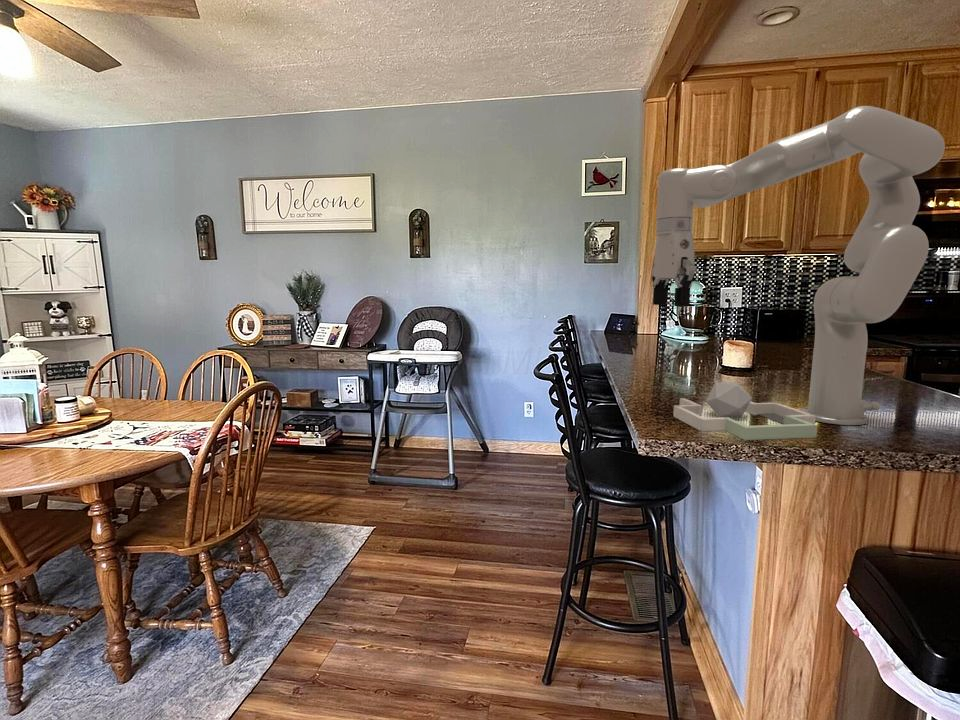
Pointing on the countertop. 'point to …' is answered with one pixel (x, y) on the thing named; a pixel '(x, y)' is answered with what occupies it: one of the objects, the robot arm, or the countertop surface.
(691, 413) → the dice tray
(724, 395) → the die
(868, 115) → the robot arm
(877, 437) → the countertop surface
